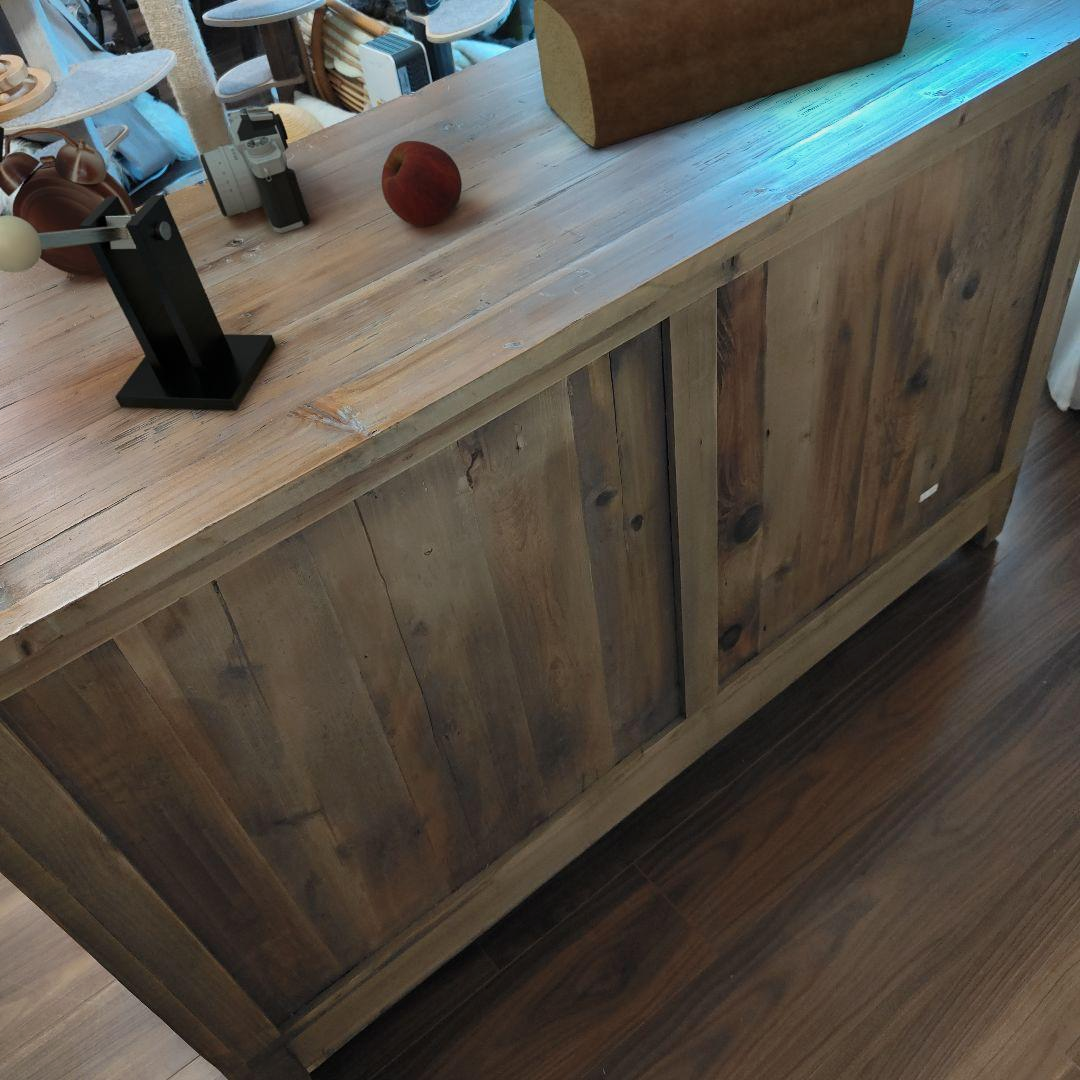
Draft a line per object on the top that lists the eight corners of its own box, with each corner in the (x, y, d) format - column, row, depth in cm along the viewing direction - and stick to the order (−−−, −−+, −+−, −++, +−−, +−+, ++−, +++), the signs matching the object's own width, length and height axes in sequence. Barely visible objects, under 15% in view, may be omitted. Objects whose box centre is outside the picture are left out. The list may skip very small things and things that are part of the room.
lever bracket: (236, 411, 84) (159, 241, 72) (120, 407, 86) (28, 242, 75) (276, 345, 89) (210, 178, 78) (167, 344, 92) (88, 182, 81)
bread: (540, 105, 116) (523, -21, 106) (836, 15, 122) (845, -112, 113) (594, 157, 106) (580, 23, 96) (913, 56, 112) (931, -80, 102)
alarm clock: (160, 253, 104) (94, 110, 93) (146, 279, 101) (76, 134, 90) (61, 264, 105) (-15, 124, 94) (44, 290, 102) (-37, 148, 91)
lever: (20, 275, 64) (8, 216, 63) (-27, 275, 65) (-40, 217, 64) (166, 253, 79) (159, 205, 78) (126, 254, 80) (118, 206, 79)
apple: (387, 212, 104) (367, 136, 98) (460, 193, 104) (444, 117, 98) (397, 246, 98) (377, 169, 93) (474, 227, 99) (459, 149, 93)
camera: (212, 190, 112) (176, 101, 105) (289, 165, 114) (259, 76, 107) (237, 251, 102) (200, 157, 95) (321, 224, 104) (291, 129, 96)
